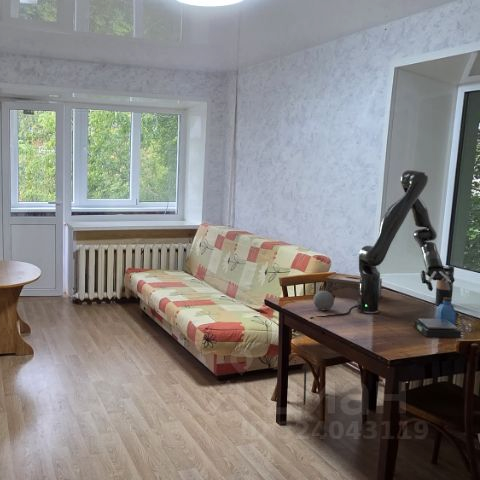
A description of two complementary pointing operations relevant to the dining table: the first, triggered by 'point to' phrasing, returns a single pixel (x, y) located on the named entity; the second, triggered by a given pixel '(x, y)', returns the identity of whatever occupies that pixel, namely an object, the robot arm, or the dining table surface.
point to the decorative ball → (323, 300)
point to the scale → (437, 331)
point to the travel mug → (443, 287)
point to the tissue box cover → (345, 285)
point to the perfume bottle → (446, 311)
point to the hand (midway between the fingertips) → (440, 290)
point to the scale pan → (437, 324)
